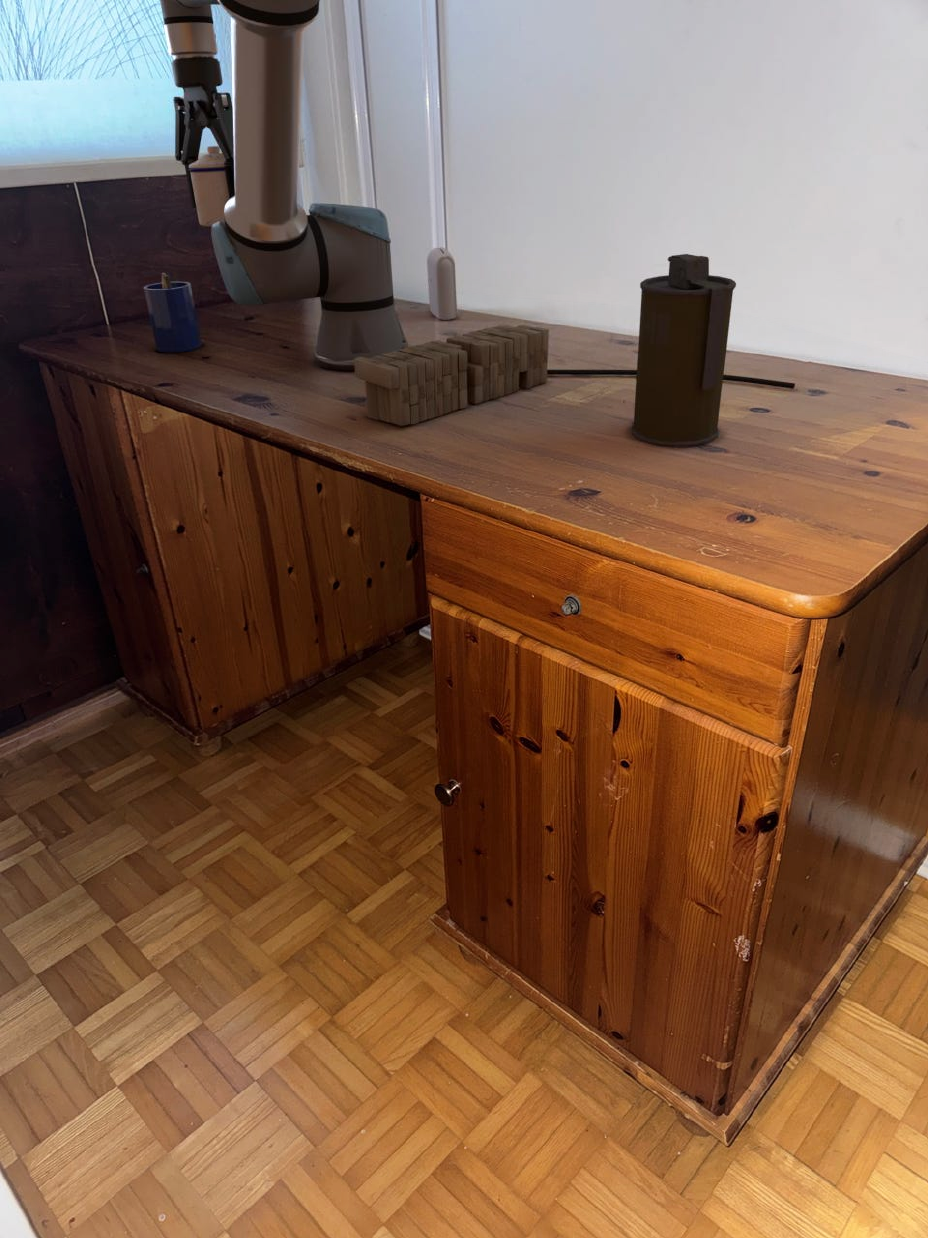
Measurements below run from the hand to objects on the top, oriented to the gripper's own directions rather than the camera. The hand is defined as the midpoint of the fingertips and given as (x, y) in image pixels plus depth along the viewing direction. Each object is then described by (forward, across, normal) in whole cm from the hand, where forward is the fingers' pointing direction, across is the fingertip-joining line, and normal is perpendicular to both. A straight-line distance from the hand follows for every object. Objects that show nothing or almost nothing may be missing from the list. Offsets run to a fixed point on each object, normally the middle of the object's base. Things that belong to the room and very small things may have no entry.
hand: (219, 208), depth 148 cm
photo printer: (+22, -16, -36) cm, 45 cm away
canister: (+23, -90, -4) cm, 93 cm away
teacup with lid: (+3, 0, 0) cm, 3 cm away
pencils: (+22, +4, +10) cm, 24 cm away
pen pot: (+22, +4, +10) cm, 24 cm away
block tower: (+23, -59, +2) cm, 63 cm away
